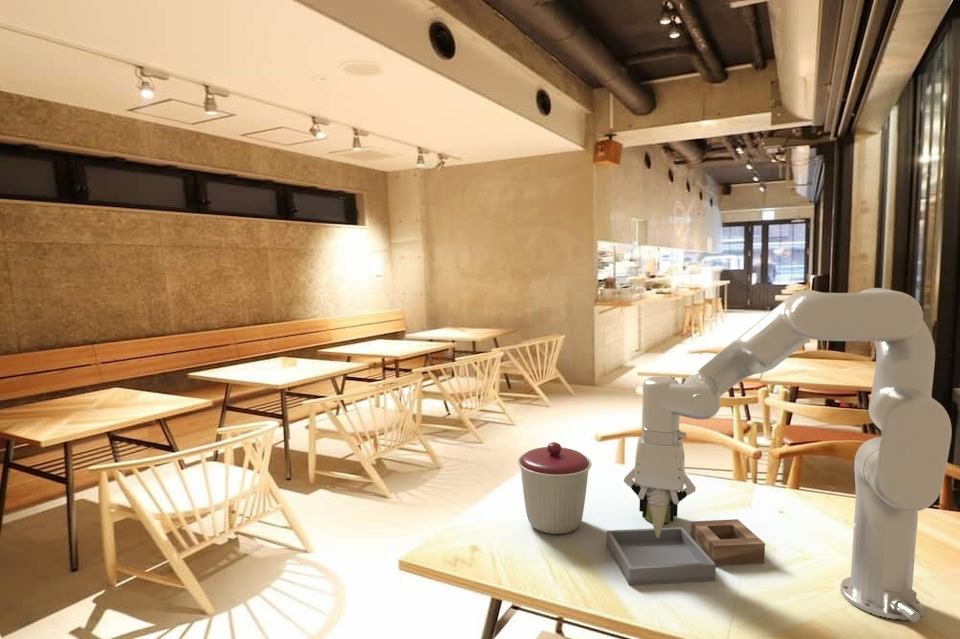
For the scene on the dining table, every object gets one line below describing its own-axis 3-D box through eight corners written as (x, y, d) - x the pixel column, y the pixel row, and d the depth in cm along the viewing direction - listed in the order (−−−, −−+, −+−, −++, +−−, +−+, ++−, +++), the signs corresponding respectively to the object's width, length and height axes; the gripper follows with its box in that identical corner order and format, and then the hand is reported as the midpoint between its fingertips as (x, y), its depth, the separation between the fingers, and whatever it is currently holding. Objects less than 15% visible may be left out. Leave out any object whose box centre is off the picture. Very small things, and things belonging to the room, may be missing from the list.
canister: (598, 542, 129) (599, 455, 127) (521, 543, 129) (520, 456, 127) (583, 507, 147) (583, 431, 145) (515, 508, 147) (515, 432, 145)
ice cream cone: (661, 530, 123) (662, 465, 122) (674, 541, 118) (676, 474, 117) (641, 533, 122) (642, 468, 120) (653, 544, 117) (655, 476, 116)
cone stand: (764, 563, 120) (764, 543, 119) (713, 565, 119) (714, 545, 118) (736, 537, 131) (737, 519, 130) (690, 539, 130) (691, 521, 129)
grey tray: (715, 580, 113) (715, 564, 113) (629, 585, 112) (629, 569, 112) (682, 541, 129) (682, 527, 129) (606, 545, 128) (606, 530, 128)
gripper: (703, 434, 118) (700, 515, 120) (621, 426, 124) (620, 503, 126) (703, 445, 111) (700, 531, 113) (617, 436, 117) (615, 518, 119)
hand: (658, 516), depth 120 cm, fingers closed on ice cream cone, 5 cm apart
